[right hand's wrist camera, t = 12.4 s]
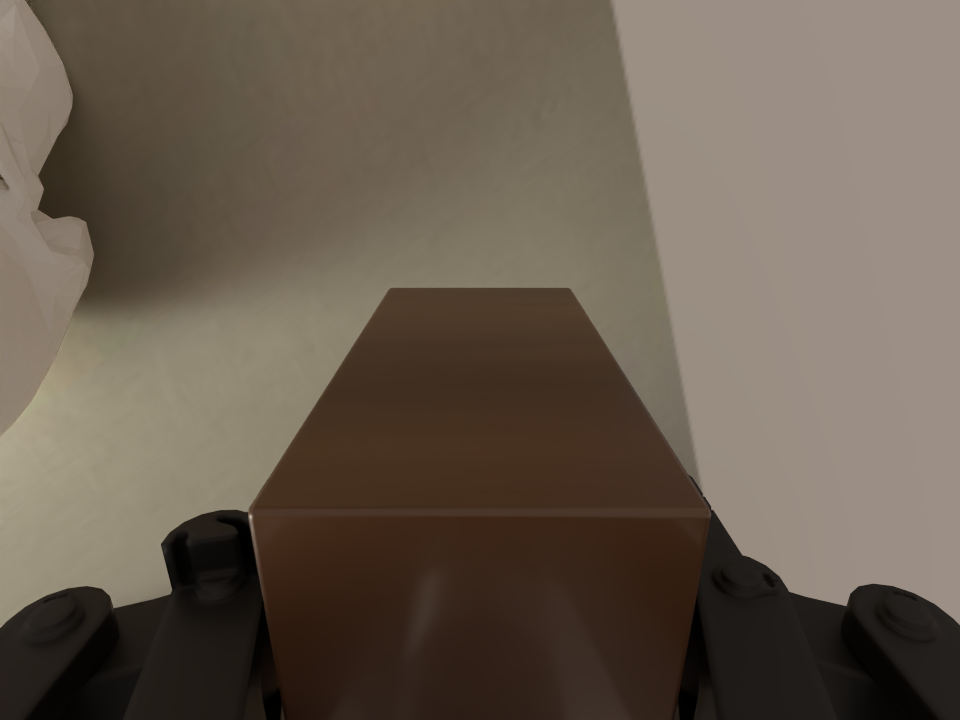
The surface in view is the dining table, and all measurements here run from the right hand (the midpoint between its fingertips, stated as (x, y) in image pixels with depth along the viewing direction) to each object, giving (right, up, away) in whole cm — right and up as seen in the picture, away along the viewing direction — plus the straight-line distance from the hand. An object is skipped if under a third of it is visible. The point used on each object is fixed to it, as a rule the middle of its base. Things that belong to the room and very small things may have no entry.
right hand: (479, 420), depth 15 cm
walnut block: (0, -8, +3) cm, 9 cm away
